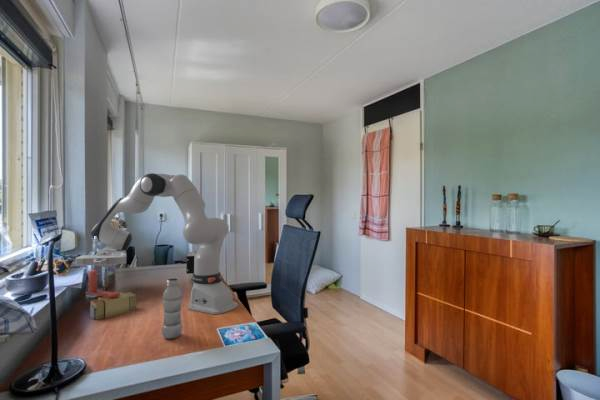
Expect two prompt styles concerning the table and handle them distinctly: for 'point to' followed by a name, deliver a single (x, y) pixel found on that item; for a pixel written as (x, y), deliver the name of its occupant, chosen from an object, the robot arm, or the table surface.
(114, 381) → the table surface
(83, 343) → the table surface
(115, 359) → the table surface
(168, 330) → the plastic bottle
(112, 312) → the olive yellow box
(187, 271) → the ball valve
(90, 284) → the lever
